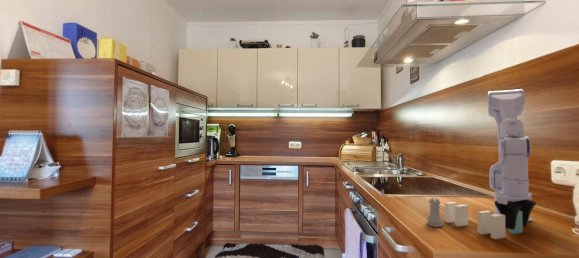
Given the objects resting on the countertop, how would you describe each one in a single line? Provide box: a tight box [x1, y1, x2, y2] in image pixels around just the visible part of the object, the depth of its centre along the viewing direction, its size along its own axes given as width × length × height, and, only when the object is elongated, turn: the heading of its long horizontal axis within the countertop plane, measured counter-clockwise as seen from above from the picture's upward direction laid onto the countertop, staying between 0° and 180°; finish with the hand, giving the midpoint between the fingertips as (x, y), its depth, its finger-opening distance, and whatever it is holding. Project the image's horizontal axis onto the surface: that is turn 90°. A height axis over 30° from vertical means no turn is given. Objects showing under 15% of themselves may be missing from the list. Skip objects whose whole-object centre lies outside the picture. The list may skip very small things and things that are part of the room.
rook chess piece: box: [426, 197, 444, 228], centre depth 81 cm, size 4×4×8 cm
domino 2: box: [454, 204, 469, 227], centre depth 81 cm, size 4×1×6 cm, turn 109°
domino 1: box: [444, 201, 458, 224], centre depth 85 cm, size 4×1×6 cm, turn 109°
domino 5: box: [508, 211, 524, 235], centre depth 75 cm, size 4×1×6 cm, turn 109°
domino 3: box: [476, 210, 493, 235], centre depth 75 cm, size 4×1×6 cm, turn 109°
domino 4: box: [490, 214, 506, 240], centre depth 71 cm, size 4×1×6 cm, turn 109°
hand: (515, 226), depth 75 cm, fingers open, 6 cm apart
